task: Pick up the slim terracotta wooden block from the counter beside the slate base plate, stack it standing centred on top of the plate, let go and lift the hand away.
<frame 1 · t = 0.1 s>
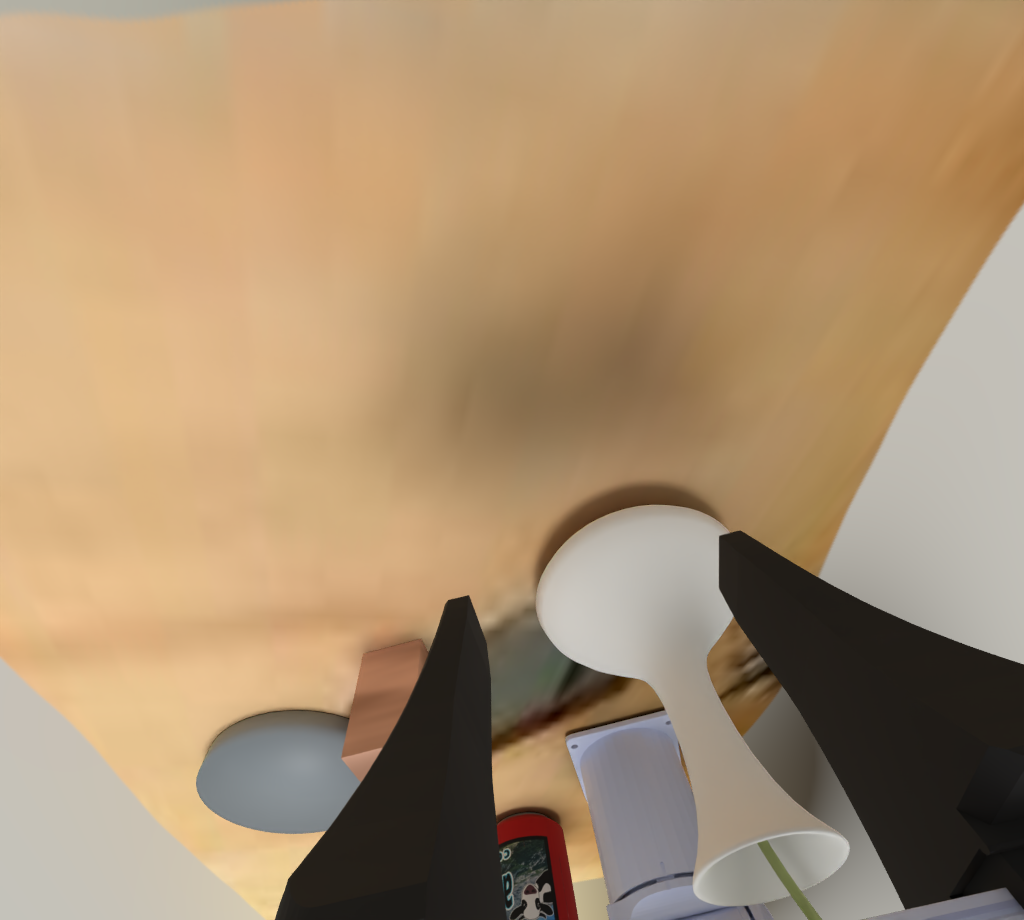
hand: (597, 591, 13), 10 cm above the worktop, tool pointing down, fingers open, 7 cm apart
terracotta block: (403, 665, 28), on the worktop
flower in vase: (634, 577, 27), on the worktop
beverage can: (522, 824, 40), on the worktop
slate base plate: (302, 764, 32), on the worktop
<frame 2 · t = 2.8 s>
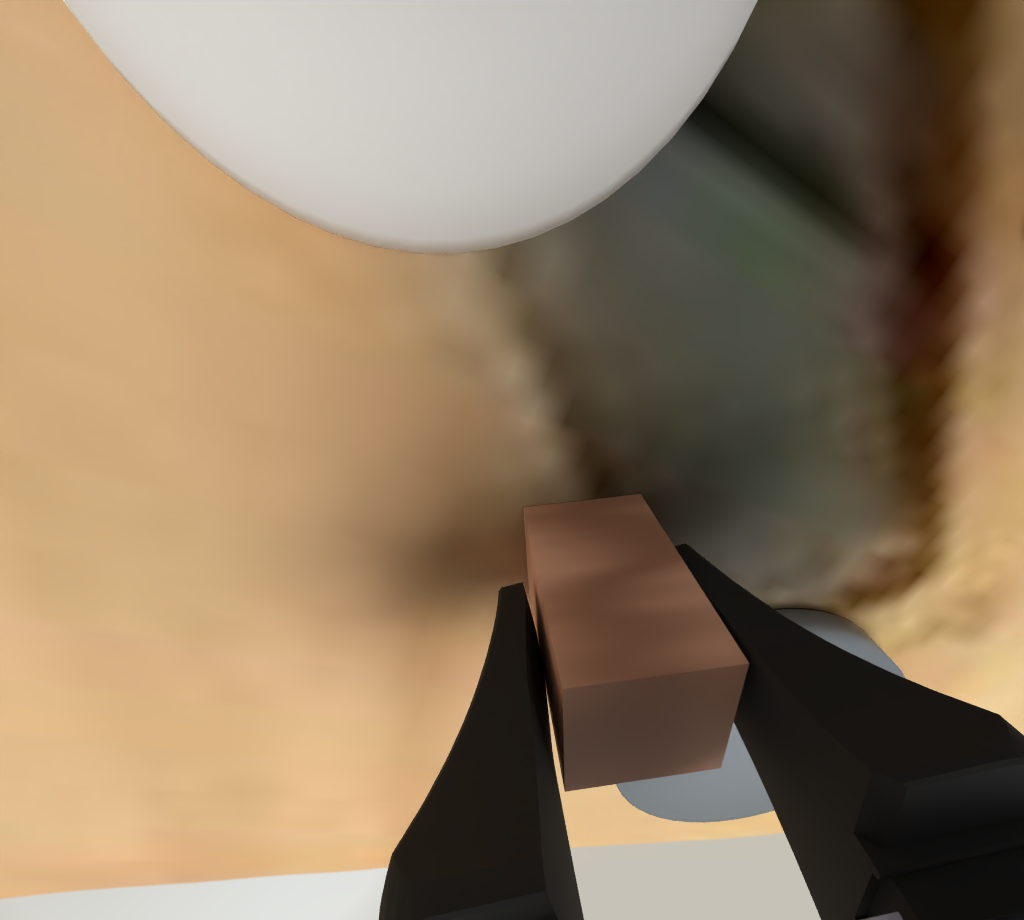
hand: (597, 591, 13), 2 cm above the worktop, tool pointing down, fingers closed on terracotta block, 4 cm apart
terracotta block: (581, 547, 15), on the worktop, touching gripper
slate base plate: (739, 710, 20), on the worktop
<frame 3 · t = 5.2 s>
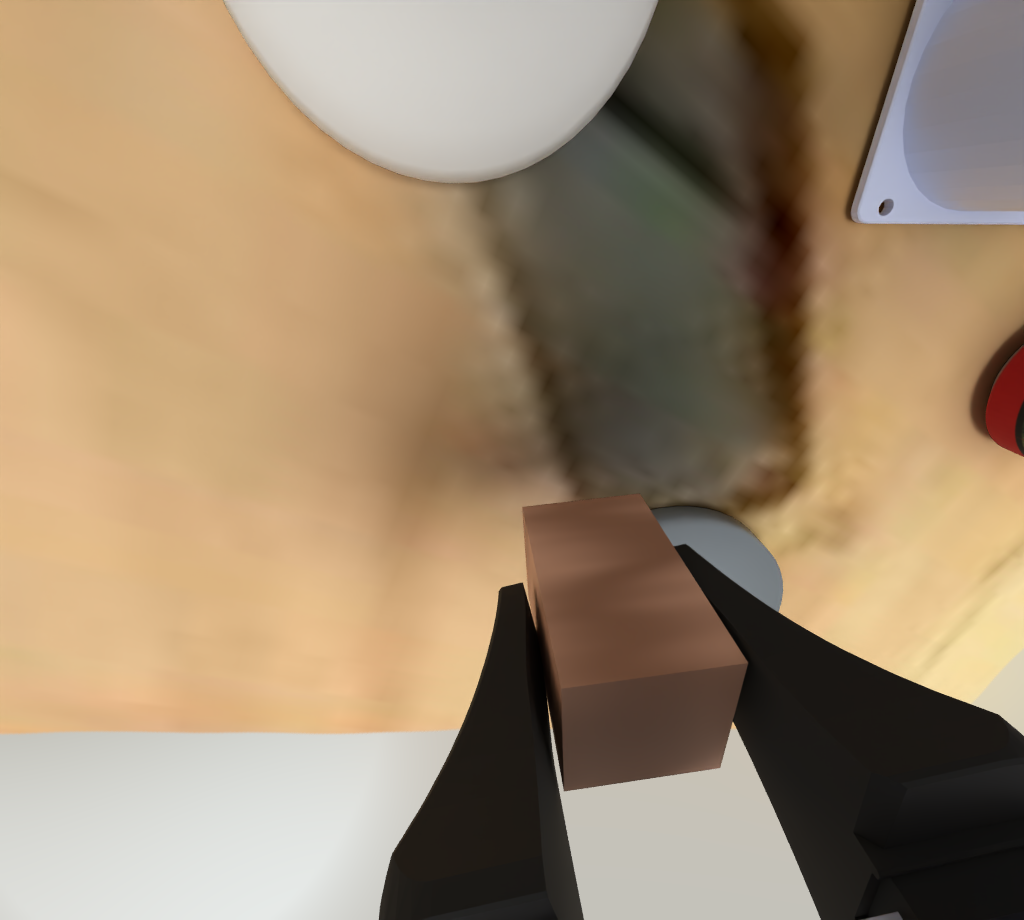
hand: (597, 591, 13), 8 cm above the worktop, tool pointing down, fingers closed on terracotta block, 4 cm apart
terracotta block: (581, 546, 15), point 6 cm above the worktop, touching gripper
slate base plate: (655, 599, 25), on the worktop
when the fingers open (4 cm above the worktop, at t = 7.8 s): terracotta block stays where it is, resting on slate base plate.
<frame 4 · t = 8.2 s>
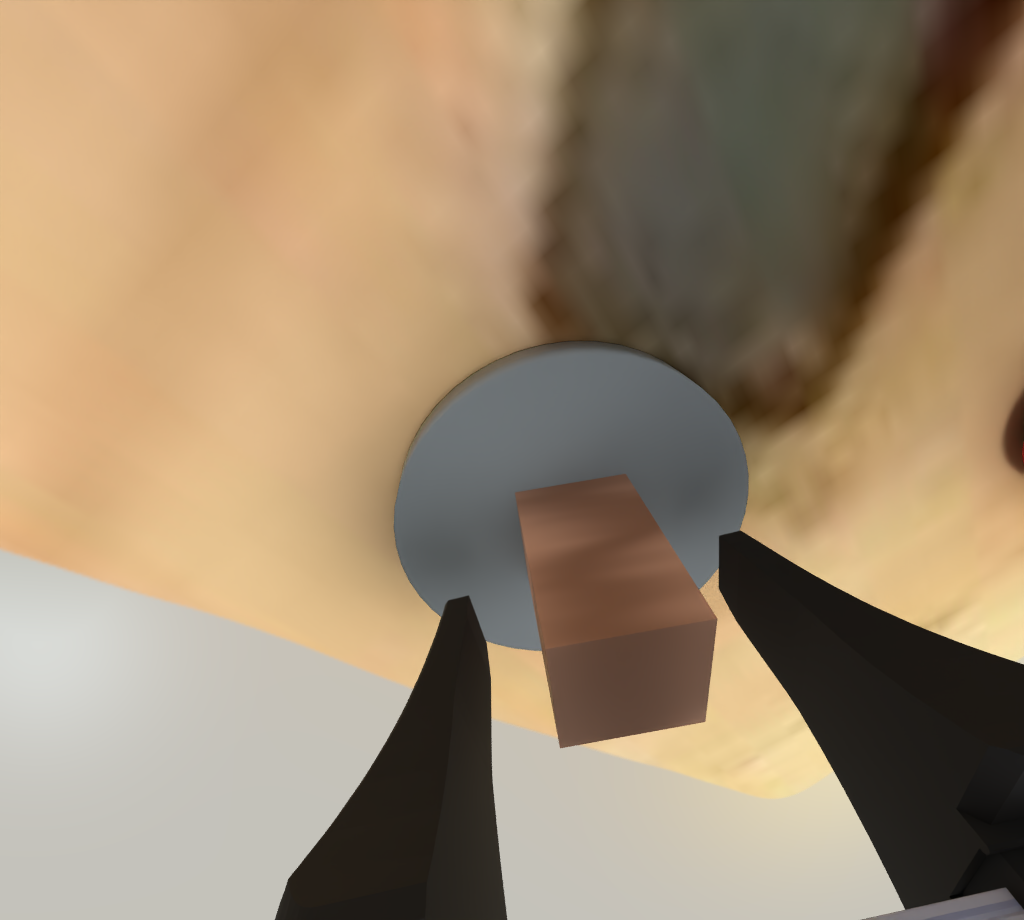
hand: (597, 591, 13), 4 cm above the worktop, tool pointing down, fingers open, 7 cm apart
terracotta block: (574, 527, 16), point 1 cm above the worktop, touching slate base plate
slate base plate: (566, 504, 17), on the worktop
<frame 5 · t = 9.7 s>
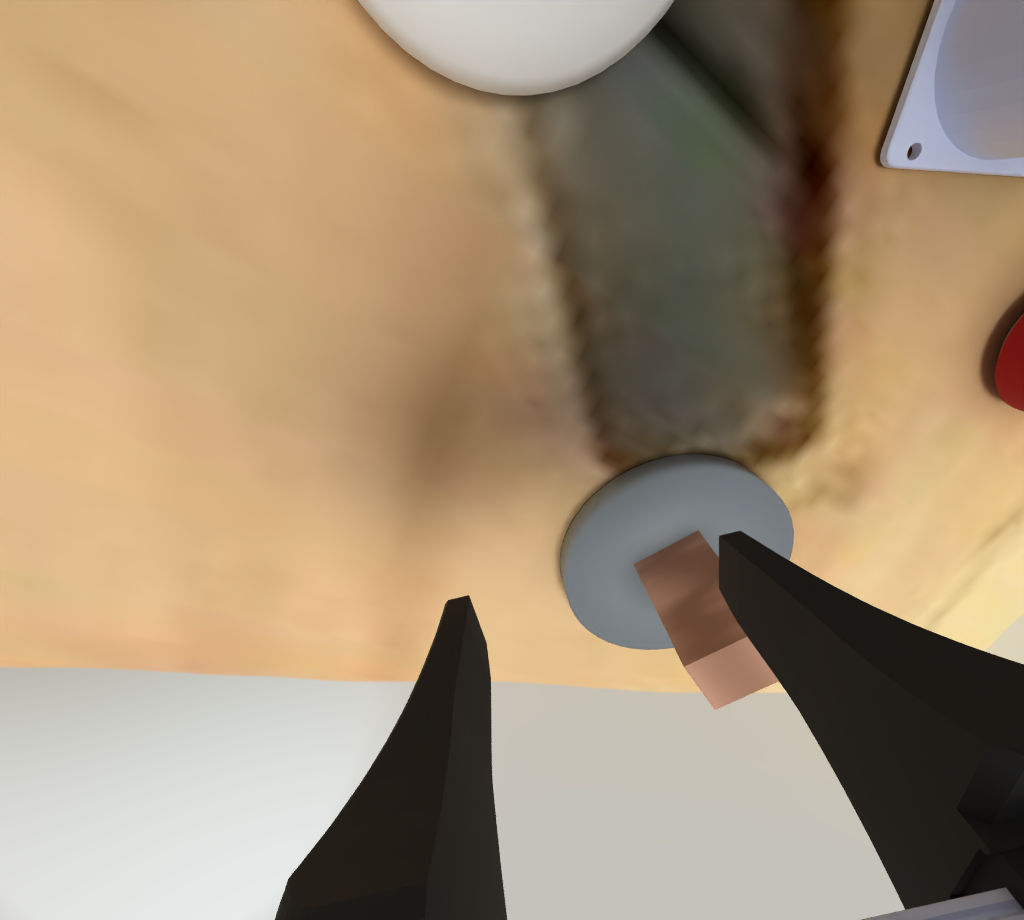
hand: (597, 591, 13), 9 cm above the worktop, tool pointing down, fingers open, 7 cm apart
terracotta block: (678, 569, 24), point 1 cm above the worktop, touching slate base plate
slate base plate: (668, 551, 25), on the worktop
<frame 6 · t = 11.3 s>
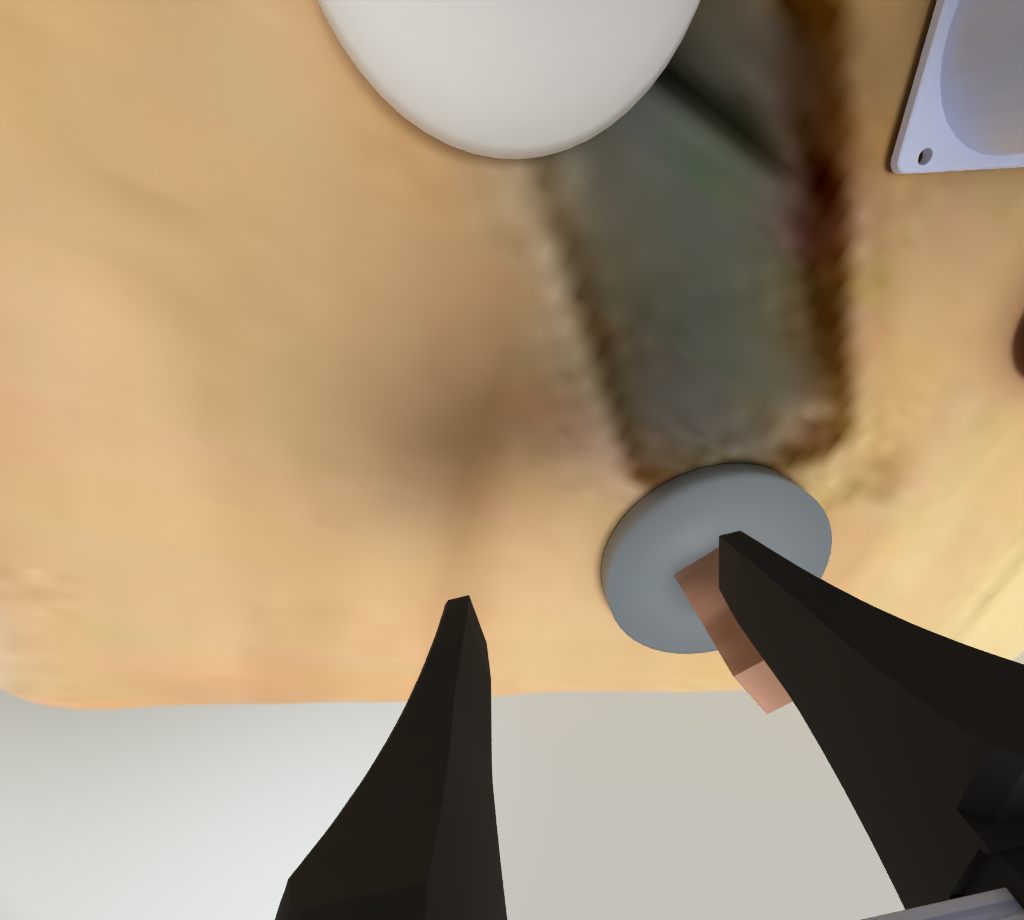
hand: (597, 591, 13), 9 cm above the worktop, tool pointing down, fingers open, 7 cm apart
terracotta block: (718, 575, 24), point 1 cm above the worktop, touching slate base plate
slate base plate: (706, 557, 26), on the worktop
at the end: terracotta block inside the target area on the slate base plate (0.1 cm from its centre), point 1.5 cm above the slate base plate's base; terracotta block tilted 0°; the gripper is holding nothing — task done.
